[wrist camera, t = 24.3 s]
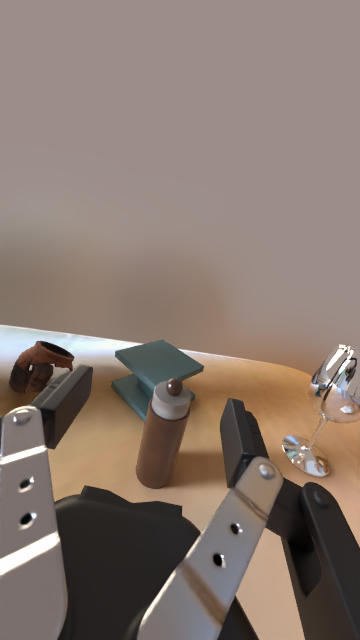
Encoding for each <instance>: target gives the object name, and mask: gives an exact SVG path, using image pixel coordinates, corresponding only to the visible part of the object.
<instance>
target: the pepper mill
mask: <svg viewBox="0 0 360 640" xmlns="http://www.w3.org/2000/svg"><path fill="white" fill-rule="evenodd" d="M190 400H191V393H190V391H189V390H188V389H187V388H186V387H185V386H184V385H183V384H182V382H181V380H179V379H178V378H171V379H170V380H168V381H164V382H161V383H159V384H158V385H157V386H156V387H155V389H154V394H153V397H152V398H151V399H150V401H149V406H148V411H147V416H146V421H145V426H144V431H143V436H142V440H141V445H140V450H139V455H138V460H137V465H136V474H137V477H138V479H139V481H140V482H141V483H142V484H143V485H144V486H146V487H148V488H152V489H157V488H161V487H163V486H165V485H166V484H167V483H168V482H169V481H170V479H171V477H172V474H173V470H174V466H175V463H176V459H177V456H178V452H179V449H180V445H181V442H182V438H183V435H184V431H185V428H186V424H187V421H188V417H189V414H190V407H189V404H190Z"/></svg>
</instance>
